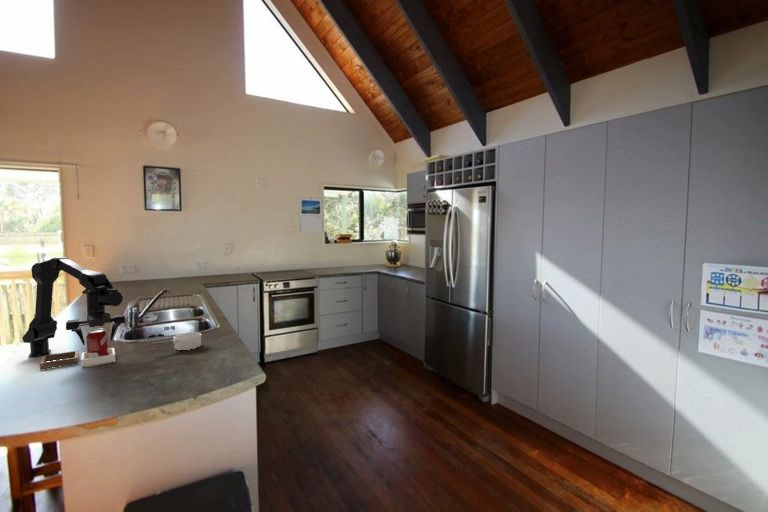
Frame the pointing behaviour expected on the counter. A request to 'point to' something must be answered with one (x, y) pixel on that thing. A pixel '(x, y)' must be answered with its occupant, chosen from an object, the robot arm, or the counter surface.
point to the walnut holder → (57, 357)
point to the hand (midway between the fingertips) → (97, 342)
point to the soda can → (97, 343)
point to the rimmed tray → (98, 359)
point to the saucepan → (184, 341)
